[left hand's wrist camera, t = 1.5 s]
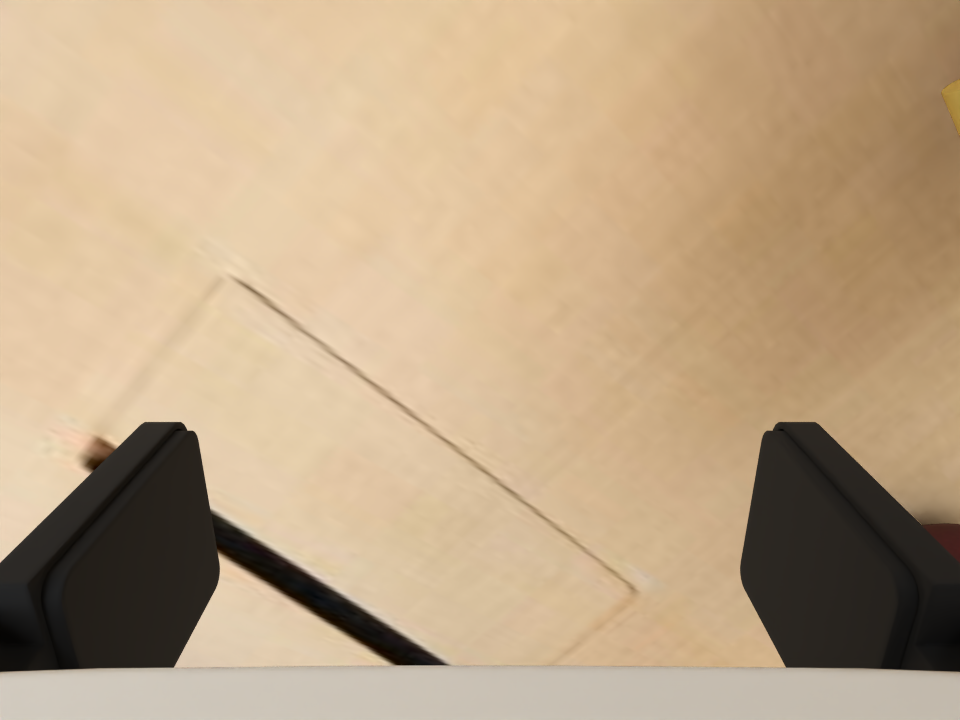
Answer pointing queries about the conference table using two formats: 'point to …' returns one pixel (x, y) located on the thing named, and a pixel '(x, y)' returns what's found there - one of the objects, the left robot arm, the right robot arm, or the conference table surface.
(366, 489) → the conference table surface
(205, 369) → the conference table surface
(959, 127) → the drawer
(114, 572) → the left robot arm
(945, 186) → the conference table surface
